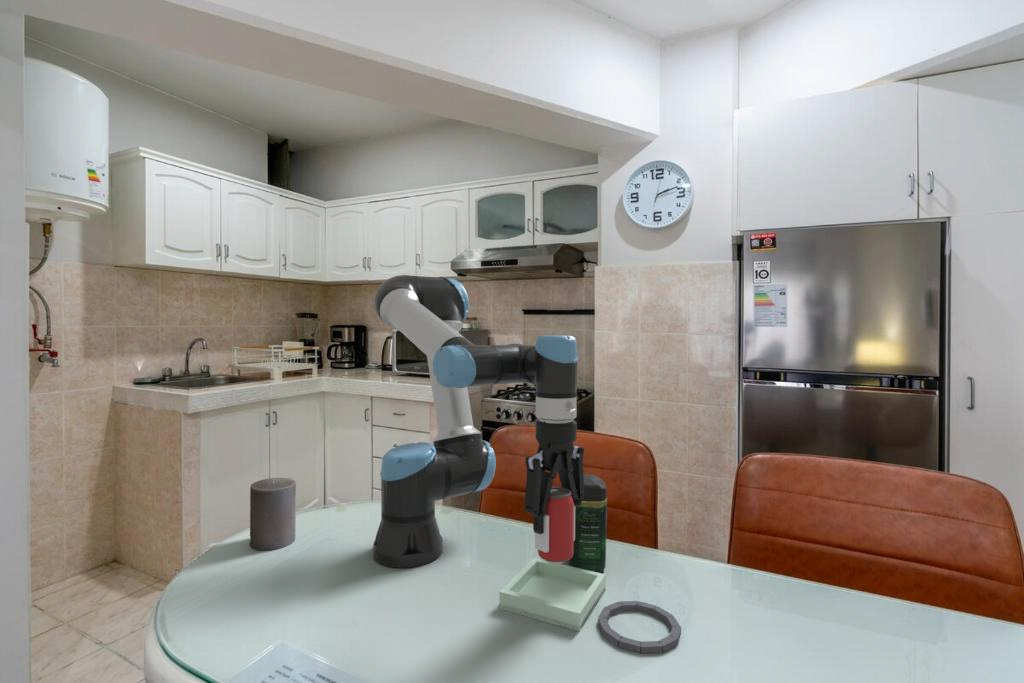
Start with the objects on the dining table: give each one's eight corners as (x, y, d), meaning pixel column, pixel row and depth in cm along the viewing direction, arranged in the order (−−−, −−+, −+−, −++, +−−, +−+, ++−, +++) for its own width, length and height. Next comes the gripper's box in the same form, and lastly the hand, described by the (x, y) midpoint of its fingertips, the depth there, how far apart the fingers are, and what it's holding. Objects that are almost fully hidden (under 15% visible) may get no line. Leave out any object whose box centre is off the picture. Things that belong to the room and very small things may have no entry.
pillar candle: (239, 547, 115) (239, 481, 114) (271, 530, 124) (272, 470, 123) (275, 554, 112) (275, 486, 111) (305, 536, 121) (305, 474, 121)
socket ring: (589, 638, 82) (589, 632, 82) (611, 599, 94) (611, 594, 94) (672, 662, 76) (672, 656, 76) (685, 618, 88) (685, 612, 88)
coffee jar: (608, 576, 103) (609, 485, 102) (568, 574, 103) (569, 483, 103) (603, 554, 112) (604, 471, 112) (567, 553, 113) (568, 470, 113)
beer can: (530, 553, 95) (531, 489, 95) (559, 545, 98) (559, 483, 98) (551, 567, 89) (551, 499, 89) (580, 558, 93) (581, 493, 92)
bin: (499, 608, 91) (499, 591, 91) (533, 572, 104) (534, 557, 104) (579, 631, 84) (579, 613, 84) (605, 589, 97) (605, 574, 97)
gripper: (533, 429, 84) (532, 567, 84) (605, 415, 97) (604, 535, 98) (502, 423, 89) (502, 553, 90) (574, 411, 103) (573, 524, 103)
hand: (555, 543), depth 94 cm, fingers closed on beer can, 6 cm apart
